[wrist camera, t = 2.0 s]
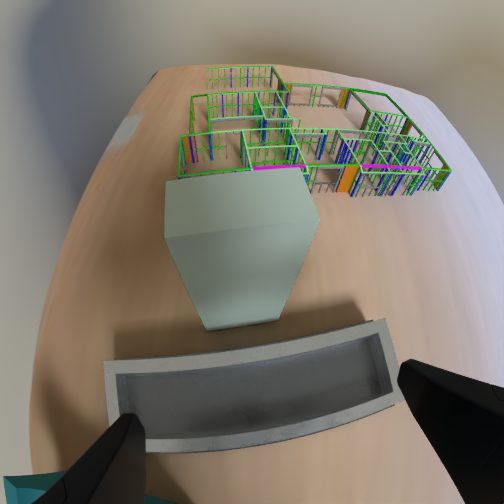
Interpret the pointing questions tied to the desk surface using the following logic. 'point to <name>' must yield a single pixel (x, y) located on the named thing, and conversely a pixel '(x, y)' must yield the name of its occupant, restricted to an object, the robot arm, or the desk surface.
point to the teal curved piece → (42, 488)
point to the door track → (256, 390)
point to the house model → (350, 171)
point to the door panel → (239, 241)
